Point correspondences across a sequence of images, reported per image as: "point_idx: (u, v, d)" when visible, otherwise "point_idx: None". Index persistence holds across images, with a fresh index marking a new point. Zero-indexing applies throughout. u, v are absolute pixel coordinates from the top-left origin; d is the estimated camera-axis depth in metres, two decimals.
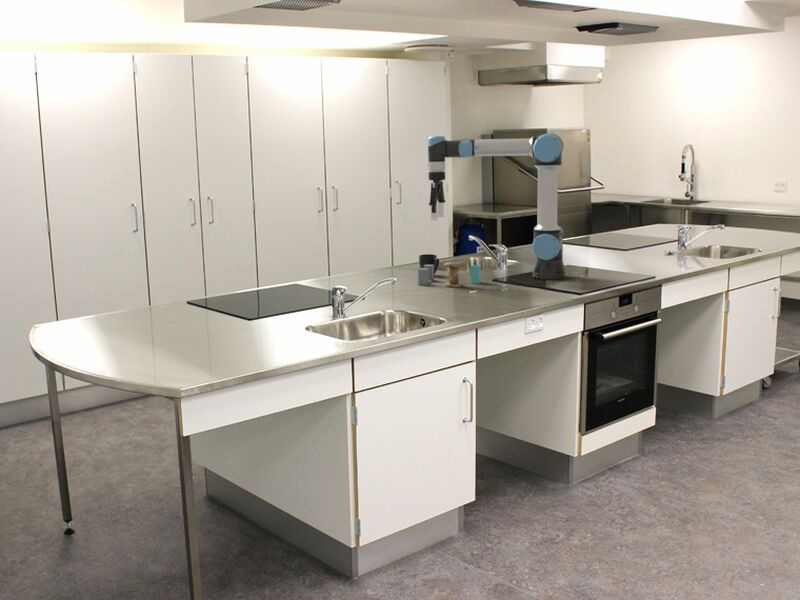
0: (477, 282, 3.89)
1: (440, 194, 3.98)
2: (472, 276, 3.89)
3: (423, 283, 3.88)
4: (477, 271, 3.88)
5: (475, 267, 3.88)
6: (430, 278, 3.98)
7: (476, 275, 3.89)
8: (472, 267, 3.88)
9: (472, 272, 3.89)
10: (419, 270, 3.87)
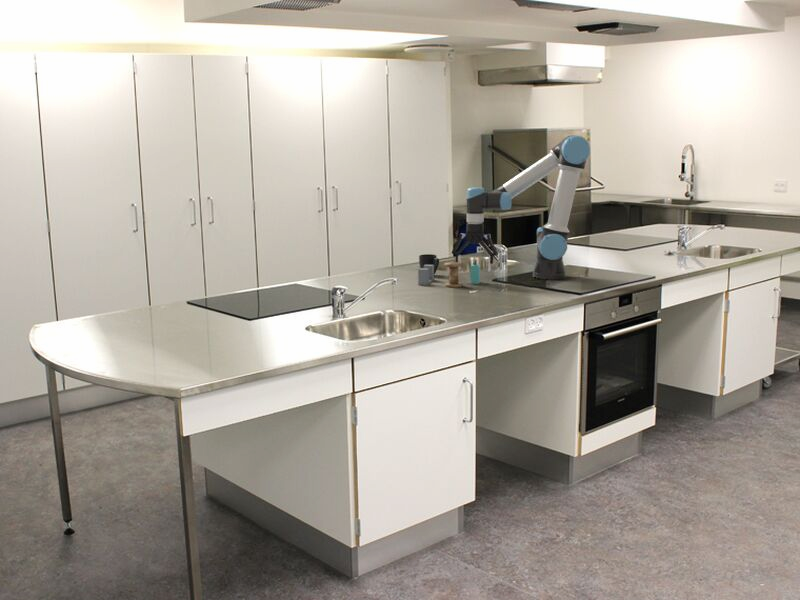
0: (477, 282, 3.89)
1: None
2: (472, 276, 3.89)
3: (423, 283, 3.88)
4: (477, 271, 3.88)
5: (475, 267, 3.88)
6: (430, 278, 3.98)
7: (476, 275, 3.89)
8: (472, 267, 3.88)
9: (472, 272, 3.89)
10: (419, 270, 3.87)
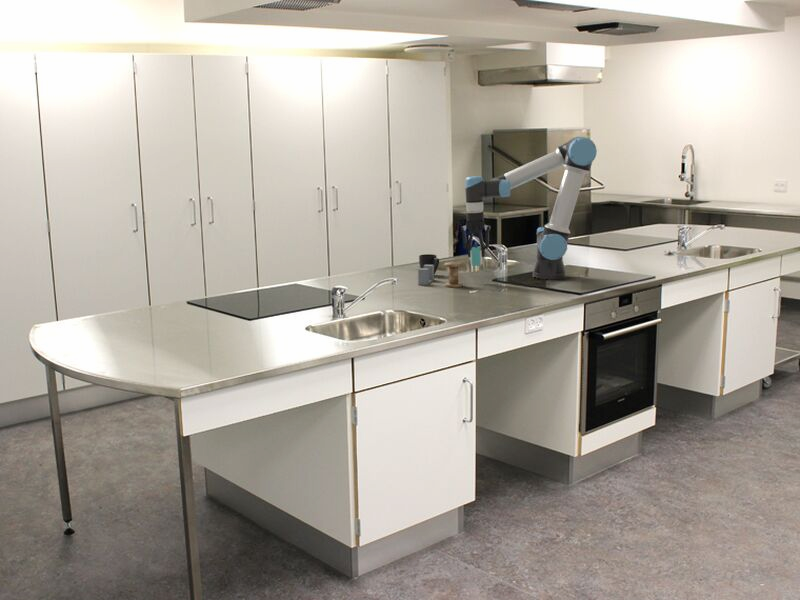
0: (478, 264, 3.88)
1: (479, 238, 3.86)
2: (473, 258, 3.88)
3: (423, 283, 3.88)
4: (478, 253, 3.87)
5: (476, 249, 3.87)
6: (430, 278, 3.98)
7: (477, 257, 3.87)
8: (473, 249, 3.87)
9: (473, 254, 3.87)
10: (419, 270, 3.87)
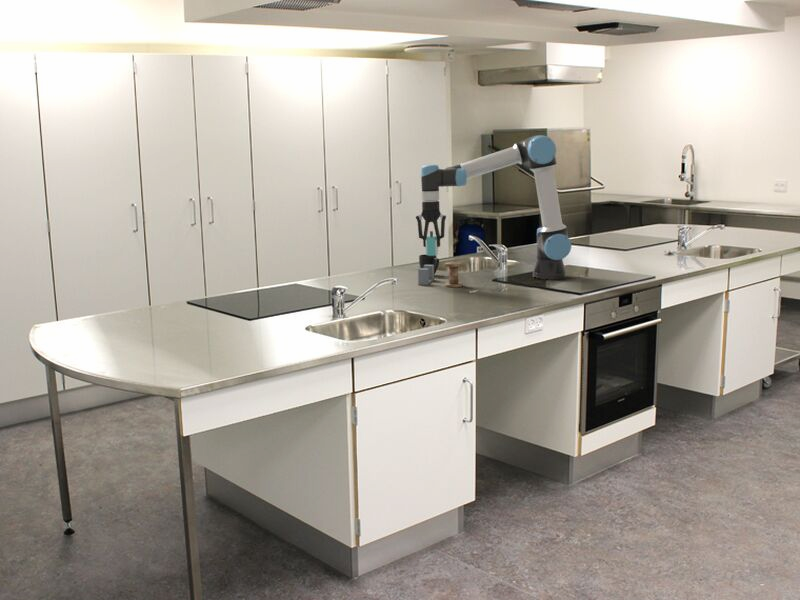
0: (434, 254, 3.83)
1: None
2: (428, 248, 3.83)
3: (423, 283, 3.88)
4: (433, 243, 3.82)
5: (431, 239, 3.82)
6: (430, 278, 3.98)
7: (432, 247, 3.82)
8: (428, 239, 3.82)
9: (428, 244, 3.82)
10: (419, 270, 3.87)
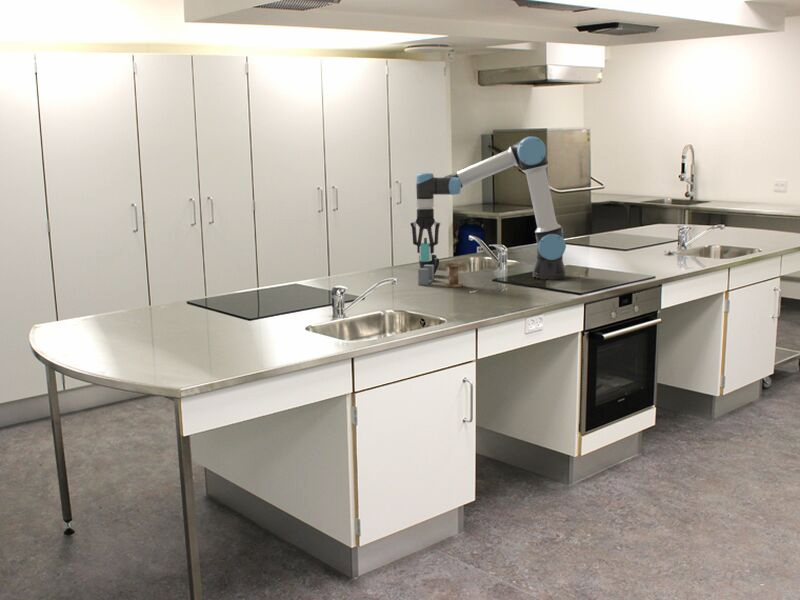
0: (427, 260, 3.91)
1: None
2: (422, 254, 3.91)
3: (423, 283, 3.88)
4: (427, 249, 3.90)
5: (425, 245, 3.90)
6: (430, 278, 3.98)
7: (426, 253, 3.91)
8: (422, 245, 3.90)
9: (422, 250, 3.91)
10: (419, 270, 3.87)
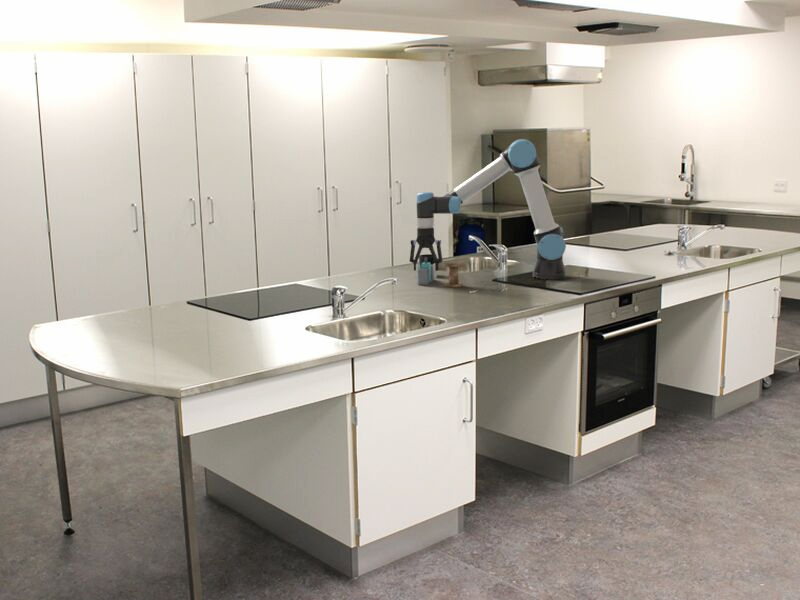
0: None
1: None
2: None
3: (423, 283, 3.88)
4: None
5: (426, 265, 3.92)
6: None
7: None
8: (423, 265, 3.92)
9: None
10: (419, 270, 3.87)
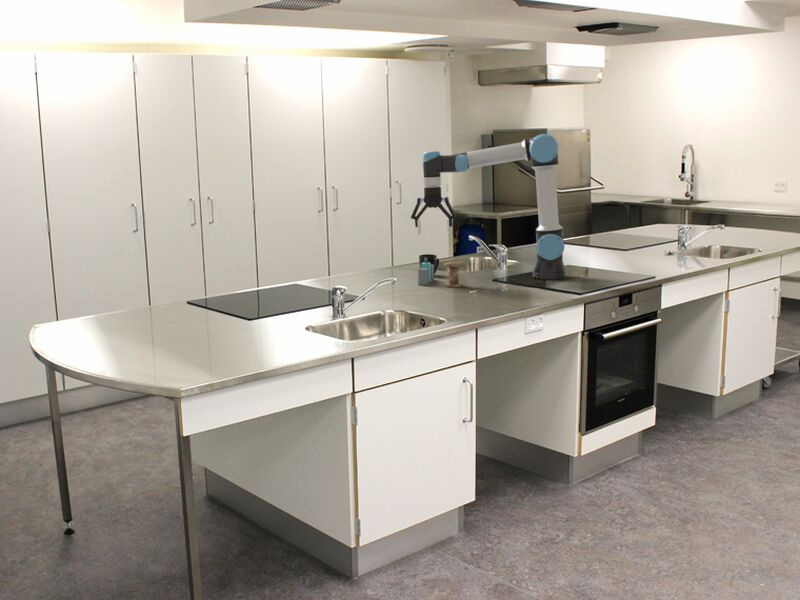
0: None
1: None
2: None
3: (423, 283, 3.88)
4: None
5: (426, 265, 3.92)
6: None
7: None
8: (423, 265, 3.92)
9: None
10: (419, 270, 3.87)
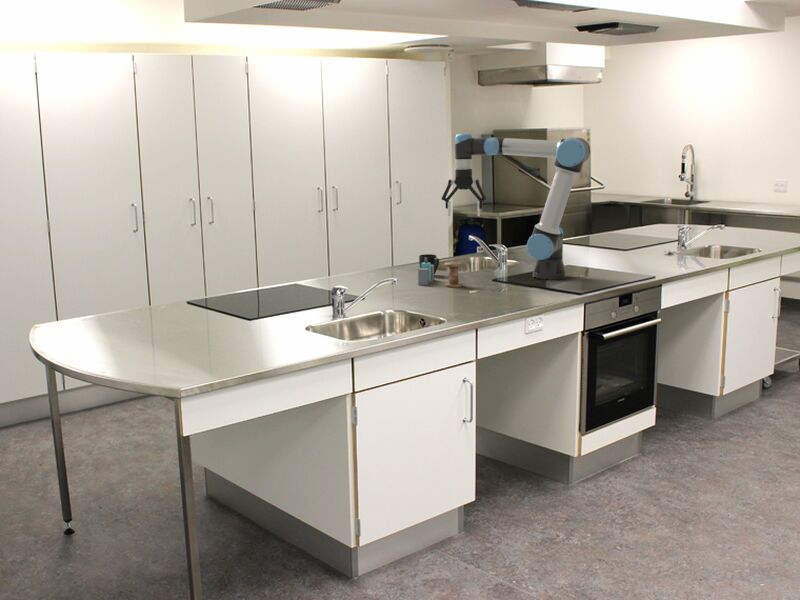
0: None
1: (472, 192, 3.94)
2: None
3: (423, 283, 3.88)
4: None
5: (426, 265, 3.92)
6: None
7: None
8: (423, 265, 3.92)
9: None
10: (419, 270, 3.87)
